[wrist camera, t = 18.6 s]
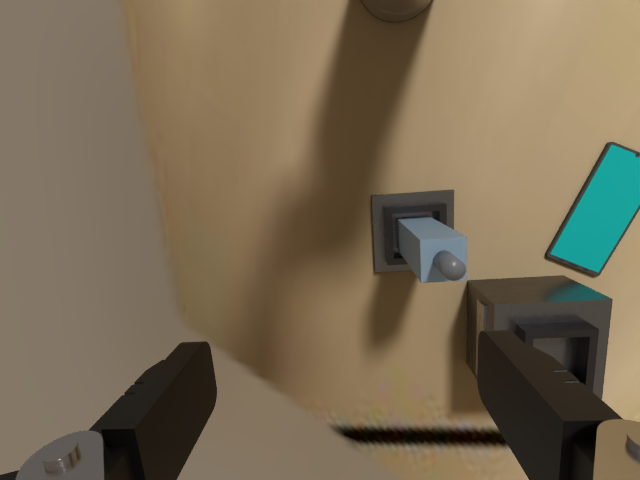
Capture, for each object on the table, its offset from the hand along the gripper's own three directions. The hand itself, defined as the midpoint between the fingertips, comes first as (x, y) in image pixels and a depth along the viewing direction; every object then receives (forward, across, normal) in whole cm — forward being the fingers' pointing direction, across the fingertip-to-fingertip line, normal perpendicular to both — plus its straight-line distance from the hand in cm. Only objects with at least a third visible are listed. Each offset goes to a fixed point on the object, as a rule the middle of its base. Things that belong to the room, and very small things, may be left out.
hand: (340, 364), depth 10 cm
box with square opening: (+34, -22, +16) cm, 44 cm away
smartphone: (+35, -32, +2) cm, 47 cm away
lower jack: (+34, -9, +3) cm, 35 cm away
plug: (+34, -9, +3) cm, 35 cm away
